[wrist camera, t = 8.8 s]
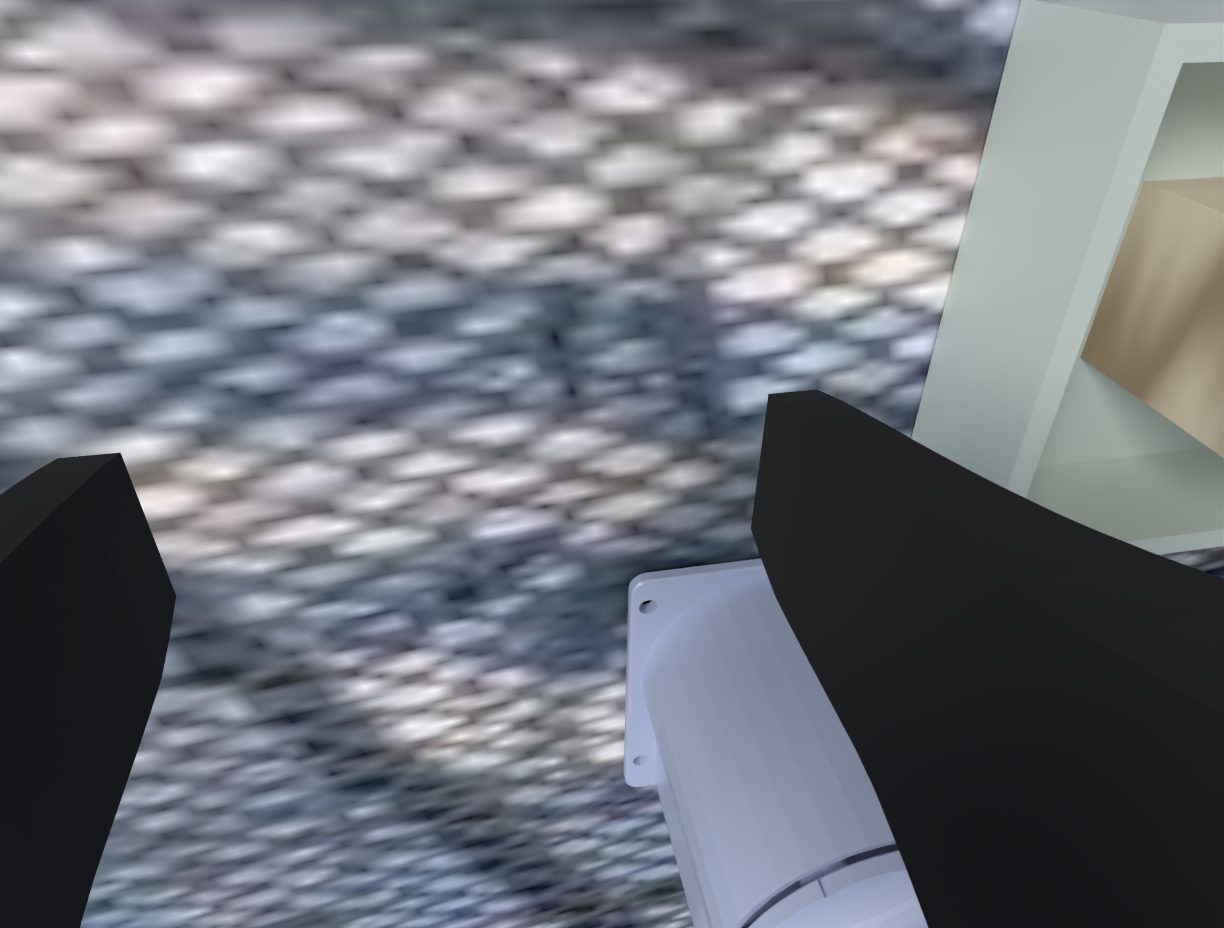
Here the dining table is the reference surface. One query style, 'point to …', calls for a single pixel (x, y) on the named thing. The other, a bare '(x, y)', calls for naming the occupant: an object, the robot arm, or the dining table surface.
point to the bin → (1078, 268)
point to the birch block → (1169, 307)
